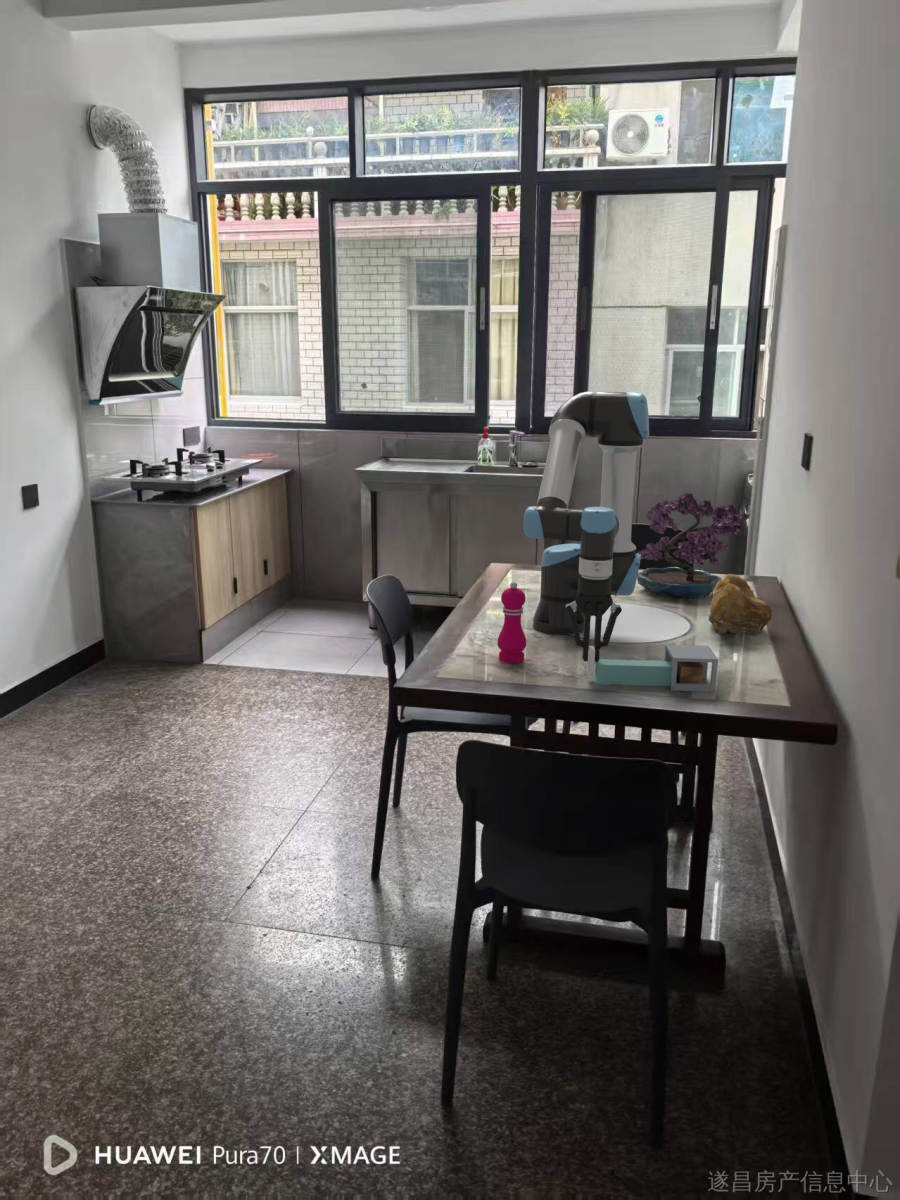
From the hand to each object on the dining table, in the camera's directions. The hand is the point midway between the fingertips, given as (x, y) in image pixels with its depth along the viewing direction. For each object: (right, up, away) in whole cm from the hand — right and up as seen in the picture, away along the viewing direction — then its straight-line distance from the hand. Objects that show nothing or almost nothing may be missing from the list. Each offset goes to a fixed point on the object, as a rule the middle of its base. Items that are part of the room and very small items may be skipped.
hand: (589, 674), depth 213 cm
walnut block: (+23, -2, -1) cm, 23 cm away
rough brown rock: (+48, +9, +43) cm, 65 cm away
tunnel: (+23, -2, -1) cm, 23 cm away
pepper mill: (-17, +2, +15) cm, 23 cm away
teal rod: (+10, -2, 0) cm, 11 cm away
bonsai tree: (+44, +20, +84) cm, 97 cm away
